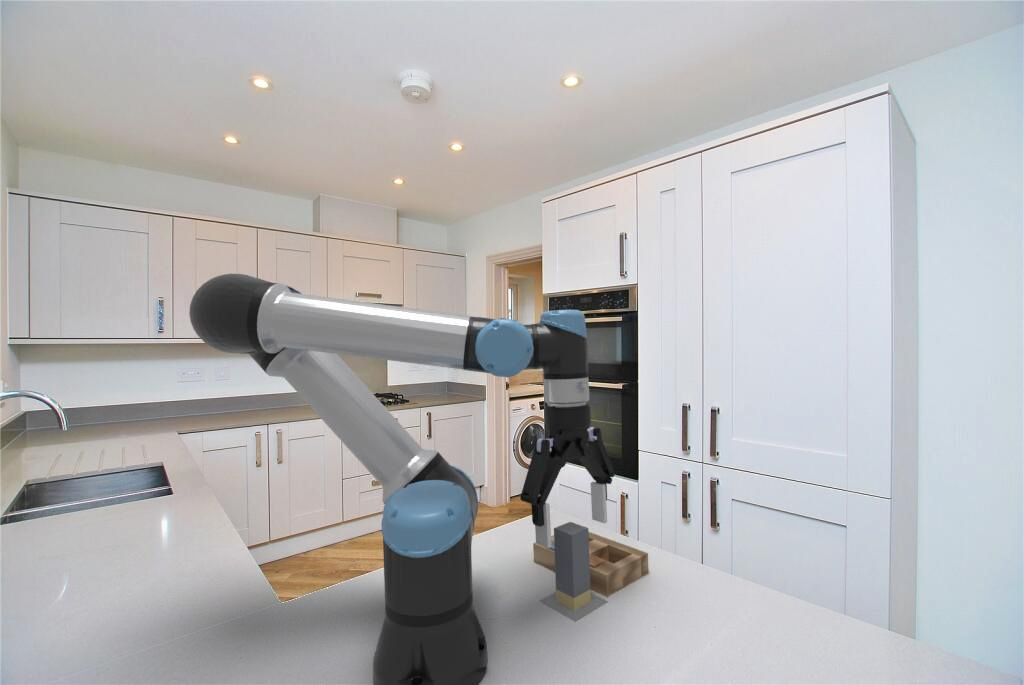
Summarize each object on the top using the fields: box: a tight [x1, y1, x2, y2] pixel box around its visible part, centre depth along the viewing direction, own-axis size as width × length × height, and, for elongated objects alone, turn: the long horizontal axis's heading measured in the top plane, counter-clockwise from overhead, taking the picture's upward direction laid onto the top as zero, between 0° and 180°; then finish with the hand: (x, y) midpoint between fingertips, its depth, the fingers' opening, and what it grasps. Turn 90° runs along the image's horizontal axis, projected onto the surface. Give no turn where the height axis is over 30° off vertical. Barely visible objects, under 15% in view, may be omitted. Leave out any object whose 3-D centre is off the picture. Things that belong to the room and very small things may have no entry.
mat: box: [539, 591, 609, 622], centre depth 77 cm, size 8×8×1 cm
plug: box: [553, 521, 592, 611], centre depth 77 cm, size 4×4×12 cm
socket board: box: [532, 531, 649, 598], centre depth 89 cm, size 12×18×4 cm, turn 40°
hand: (573, 532), depth 77 cm, fingers open, 13 cm apart
